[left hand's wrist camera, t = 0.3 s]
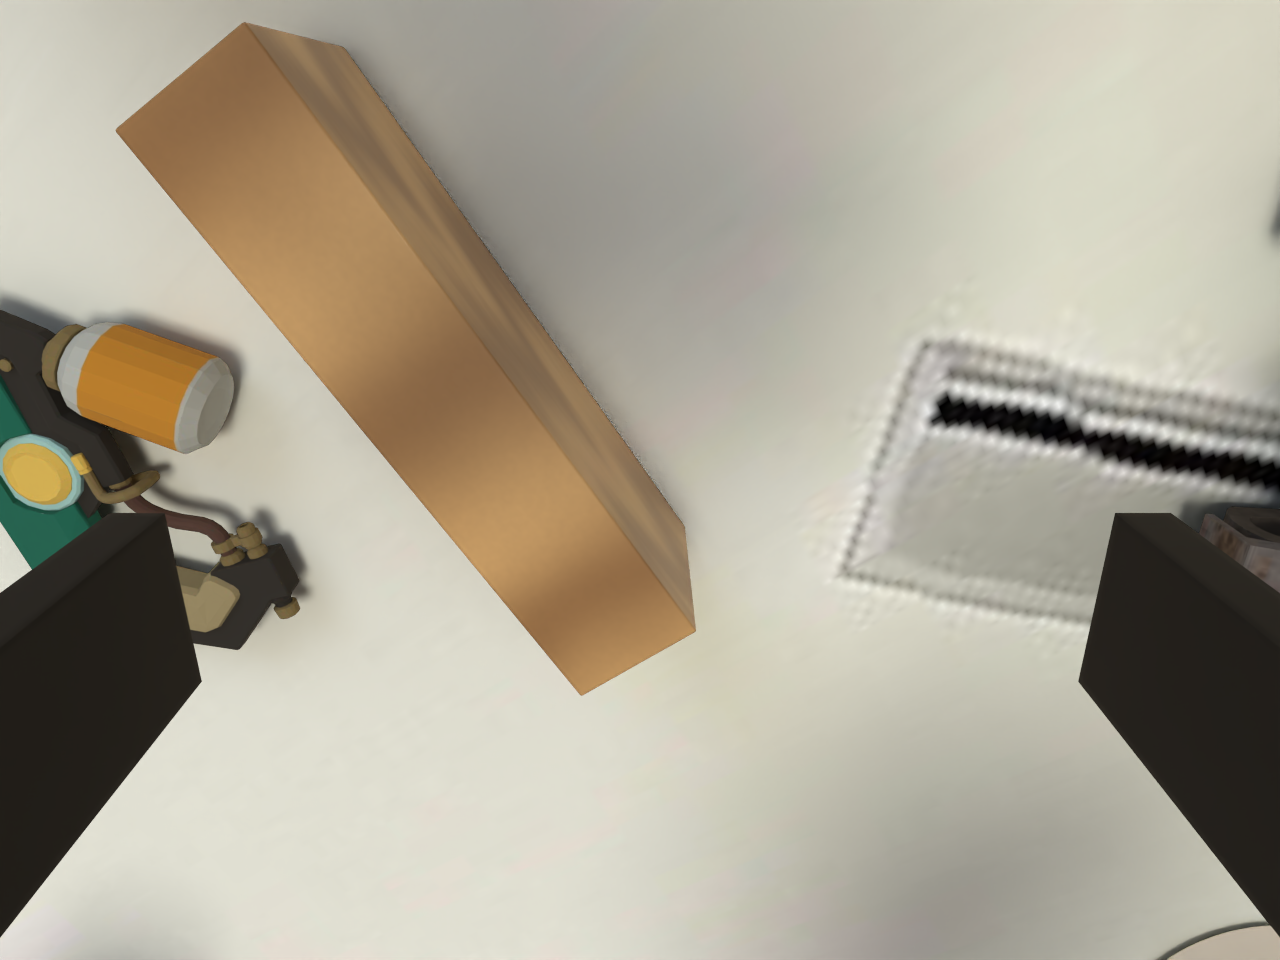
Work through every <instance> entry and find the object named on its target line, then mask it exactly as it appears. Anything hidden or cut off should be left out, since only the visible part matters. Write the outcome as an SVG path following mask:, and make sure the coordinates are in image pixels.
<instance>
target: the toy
mask: <svg viewBox="0 0 1280 960" xmlns="http://www.w3.org/2000/svg"><path fill="white" fill-rule="evenodd" d="M1199 534H1200V535H1201V536H1203V537H1204V538H1205V539H1207V540H1208V541H1209V542H1211V543H1212V544H1213V545H1215V546H1216V547H1218V548H1219V549H1220V550H1222V551H1223V552H1224V553H1226V554H1227V555H1228V556H1230V557H1231V558H1233V559H1234V560H1235V561H1237V562H1238V563H1239V564H1241V565H1242V566H1243V567H1245V568H1246V569H1248V570H1249V571H1250V572H1252V573H1253V574H1254V575H1256V576H1257V577H1259V578H1260V579H1261V580H1263V581H1264V582H1265V583H1267V584H1268V585H1269V586H1271V587H1272V588H1274V589H1275V590H1276V591H1278V592H1279V593H1280V509H1269V508H1251V507H1233V506H1232V507H1230V508H1228V509H1227V511H1226V514H1225V517H1224V520H1223V521H1222V520H1221V519H1220V518H1218V517H1217V516H1215V515H1214V514H1205V517H1204V520H1203V523H1202V526H1201V529H1200V532H1199Z"/></svg>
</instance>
